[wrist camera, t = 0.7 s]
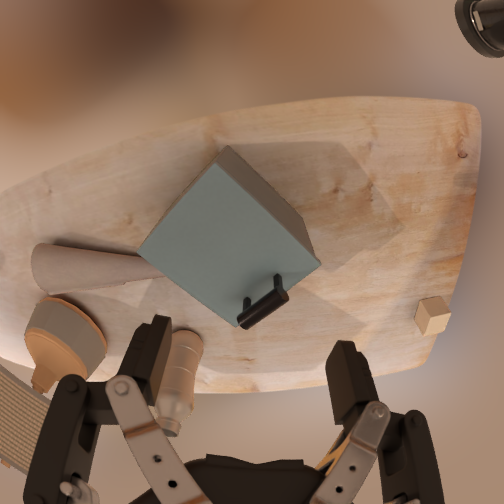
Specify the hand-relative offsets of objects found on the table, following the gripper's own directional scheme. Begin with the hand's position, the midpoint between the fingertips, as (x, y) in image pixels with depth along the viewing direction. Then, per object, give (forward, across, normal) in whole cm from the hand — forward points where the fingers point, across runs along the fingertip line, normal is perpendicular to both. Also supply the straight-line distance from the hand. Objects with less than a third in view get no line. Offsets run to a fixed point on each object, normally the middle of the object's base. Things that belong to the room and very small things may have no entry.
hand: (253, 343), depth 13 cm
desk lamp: (+27, +34, +36) cm, 56 cm away
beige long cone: (+27, +22, +14) cm, 37 cm away
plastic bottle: (+27, +7, +30) cm, 41 cm away
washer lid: (+16, +2, +5) cm, 17 cm away
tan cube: (+26, -37, +16) cm, 48 cm away
